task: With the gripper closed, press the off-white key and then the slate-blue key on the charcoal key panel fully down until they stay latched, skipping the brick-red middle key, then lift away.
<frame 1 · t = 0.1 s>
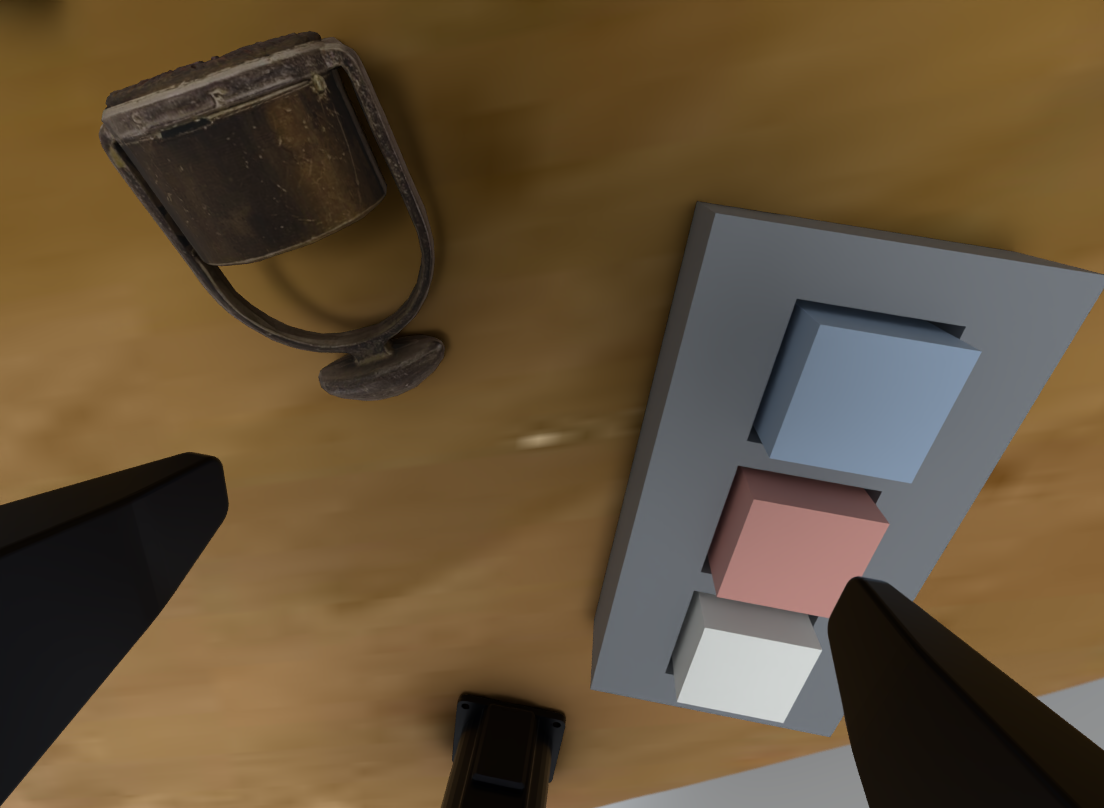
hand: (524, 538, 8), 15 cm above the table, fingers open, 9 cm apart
blue key: (848, 388, 17), point 4 cm above the table, slide at 0.0 cm
white key: (738, 645, 22), point 4 cm above the table, slide at 0.0 cm
key panel: (759, 474, 23), on the table
red key: (785, 534, 20), point 4 cm above the table, slide at 0.0 cm
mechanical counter: (337, 230, 21), on the table
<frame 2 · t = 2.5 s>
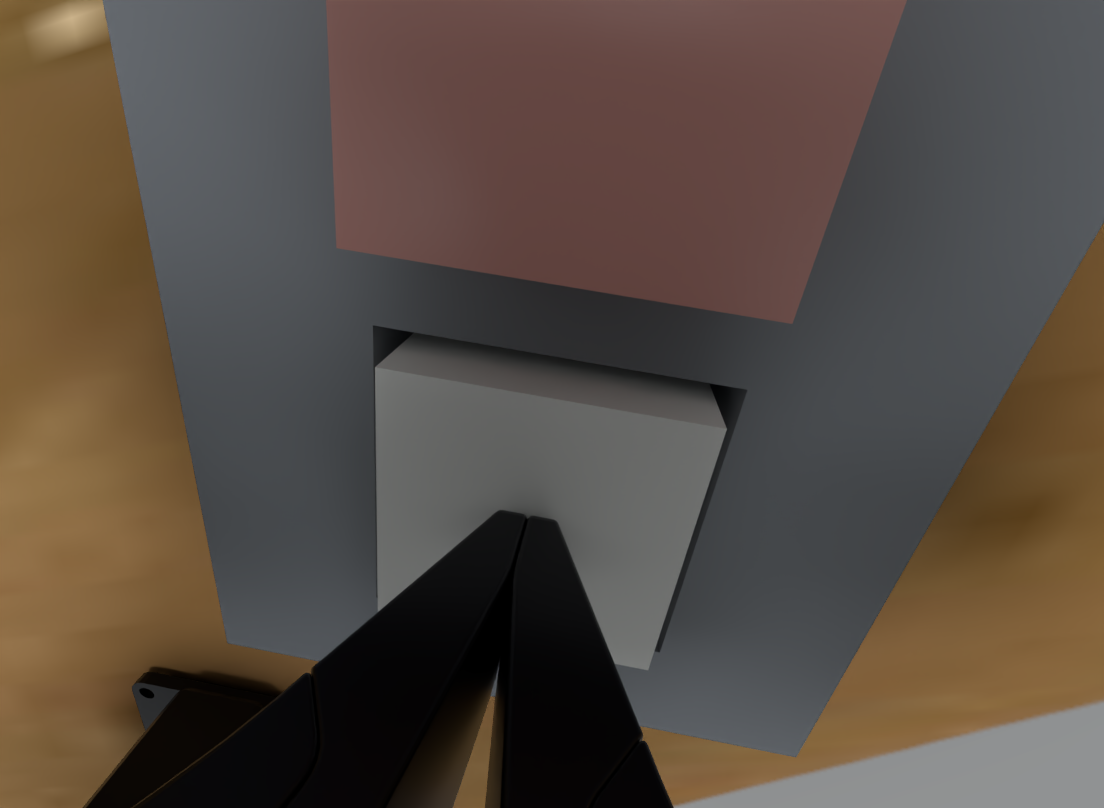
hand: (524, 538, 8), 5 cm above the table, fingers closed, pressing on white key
white key: (541, 477, 9), point 3 cm above the table, slide at 0.9 cm, touching gripper
key panel: (611, 84, 9), on the table
red key: (605, 39, 5), point 4 cm above the table, slide at 0.0 cm
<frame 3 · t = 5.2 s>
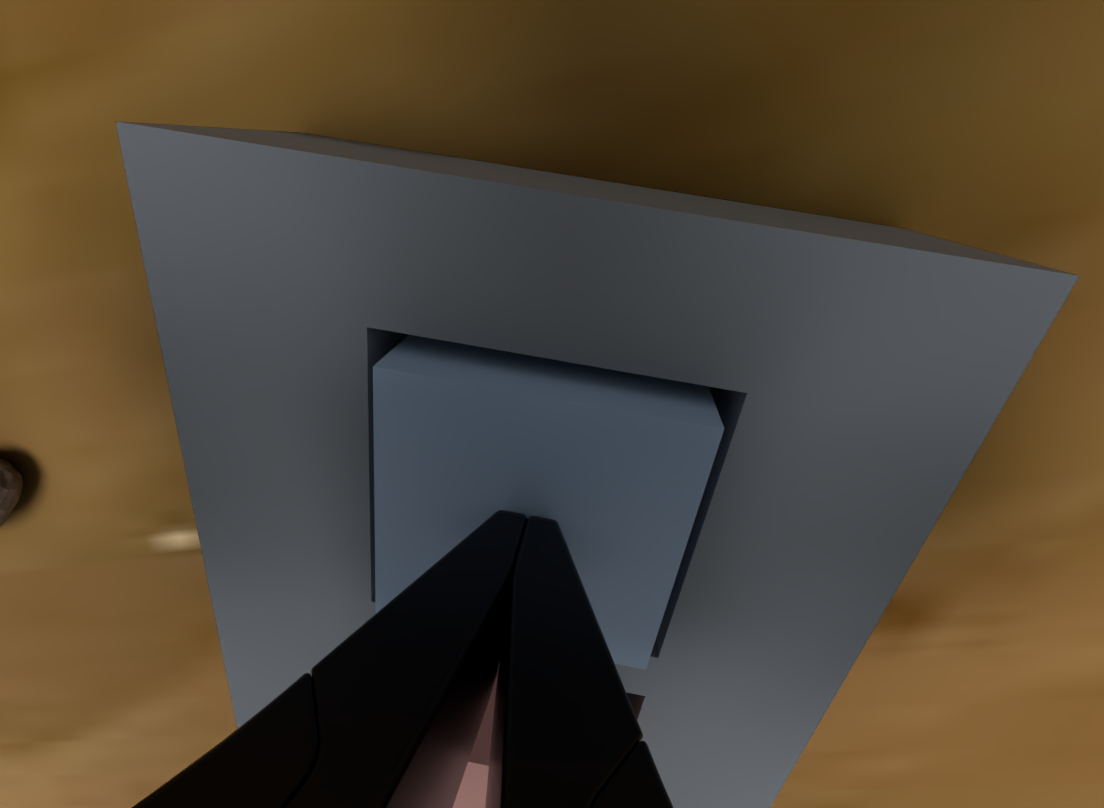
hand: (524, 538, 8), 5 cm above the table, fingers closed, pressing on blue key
blue key: (539, 477, 9), point 3 cm above the table, slide at 1.0 cm, touching gripper
key panel: (526, 599, 14), on the table
red key: (494, 751, 11), point 4 cm above the table, slide at 0.0 cm
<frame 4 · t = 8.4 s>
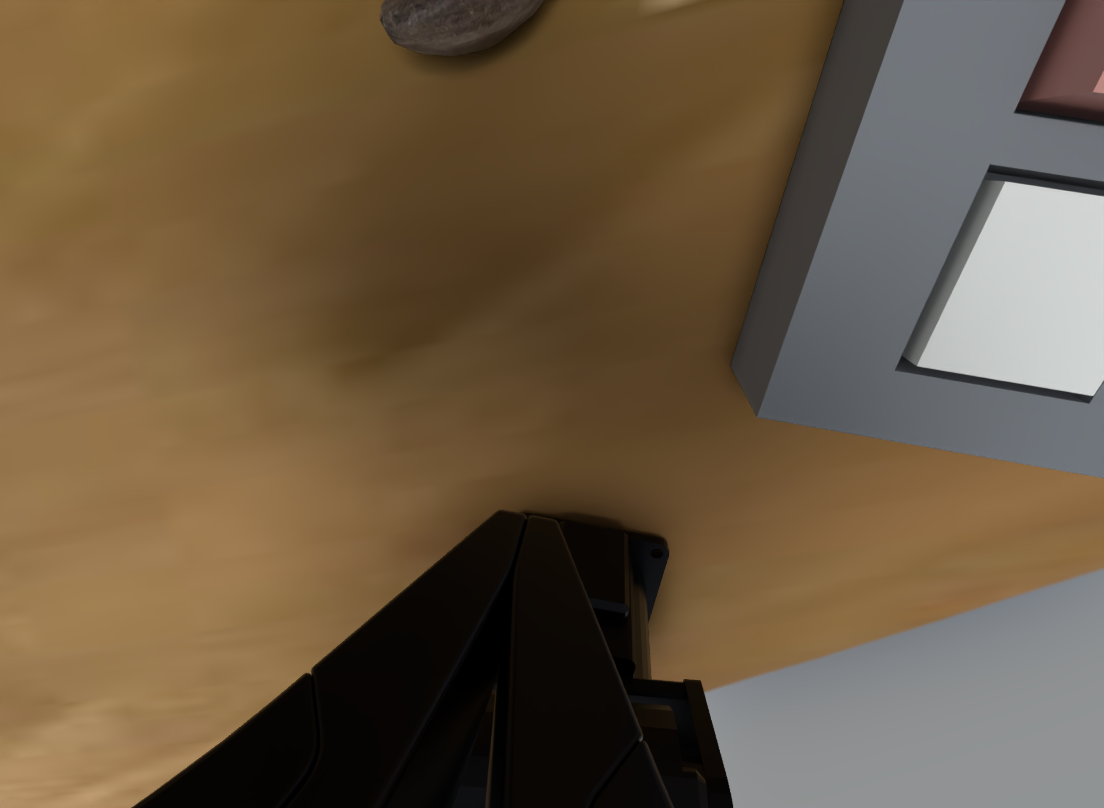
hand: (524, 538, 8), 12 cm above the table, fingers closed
white key: (1010, 282, 14), point 3 cm above the table, slide at 1.2 cm
key panel: (1058, 29, 14), on the table
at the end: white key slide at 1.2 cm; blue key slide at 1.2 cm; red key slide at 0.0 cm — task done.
